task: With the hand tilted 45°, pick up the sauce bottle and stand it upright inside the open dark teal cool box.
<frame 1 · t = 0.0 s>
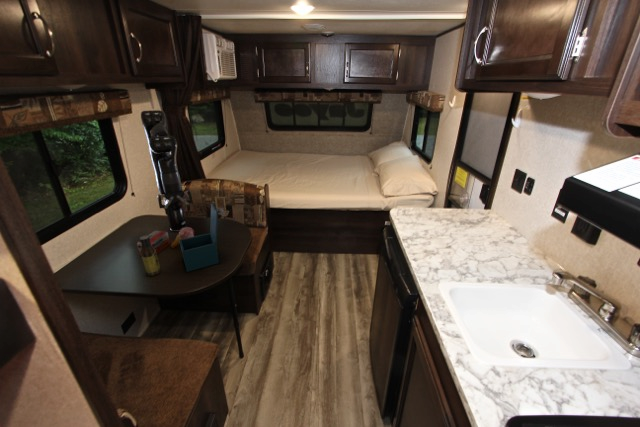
hand: (178, 213, 139), 29 cm above the table, tool pointing down, fingers open, 8 cm apart
cool box lid: (218, 222, 150), point 20 cm above the table, hinge at 100.0°
ice cream: (185, 244, 169), on the table
medicine box: (156, 249, 163), on the table
cool box: (201, 261, 154), on the table
sauce bottle: (154, 272, 144), on the table
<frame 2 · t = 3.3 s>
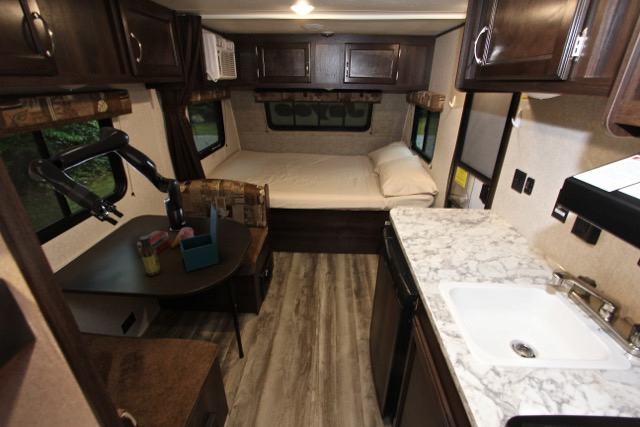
hand: (119, 220, 131), 29 cm above the table, tool tilted 40°, fingers open, 8 cm apart
nothing on the table moved.
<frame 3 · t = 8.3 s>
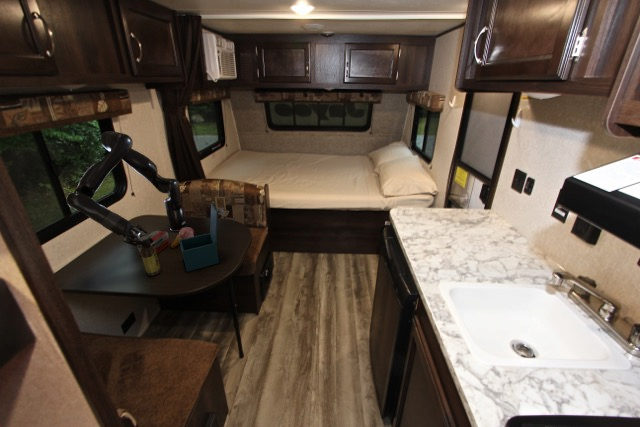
hand: (150, 244, 138), 16 cm above the table, tool tilted 45°, fingers closed on sauce bottle, 4 cm apart
sauce bottle: (154, 272, 144), on the table, touching gripper
everything else where it was.
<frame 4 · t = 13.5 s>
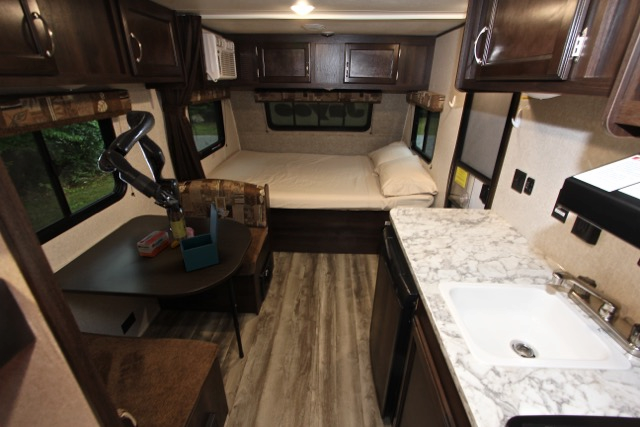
hand: (179, 208, 138), 32 cm above the table, tool tilted 45°, fingers closed on sauce bottle, 4 cm apart
sauce bottle: (181, 238, 144), point 15 cm above the table, touching gripper
everything else where it was.
when the fingers open (17 cm above the table, at t = 18.8 s): sauce bottle stays where it is, resting on cool box.
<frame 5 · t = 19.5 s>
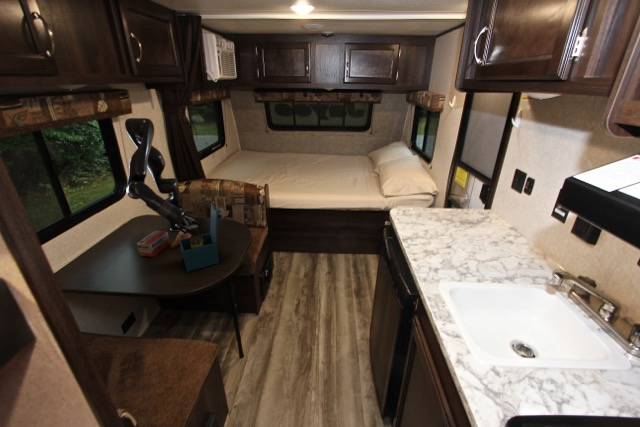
hand: (198, 230, 146), 18 cm above the table, tool tilted 45°, fingers open, 8 cm apart
sauce bottle: (200, 260, 153), point 1 cm above the table, touching cool box
everything else where it was.
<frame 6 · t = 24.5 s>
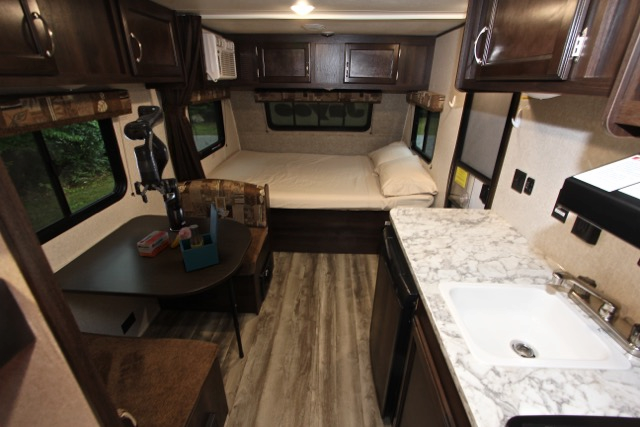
hand: (156, 202, 138), 34 cm above the table, tool pointing down, fingers open, 8 cm apart
nothing on the table moved.
at the end: sauce bottle inside the target area in the cool box (0.3 cm from its centre), point 0.7 cm above the cool box's base; sauce bottle tilted 0°; cool box lid at +100° (first picture: +100°) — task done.
